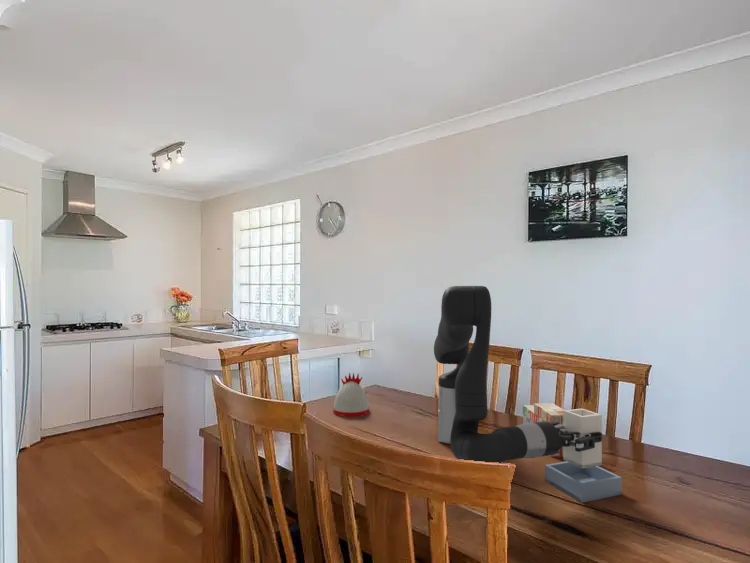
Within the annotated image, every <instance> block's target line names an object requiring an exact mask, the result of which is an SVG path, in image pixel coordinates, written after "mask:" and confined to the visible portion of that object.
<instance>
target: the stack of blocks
mask: <svg viewBox="0 0 750 563" xmlns="http://www.w3.org/2000/svg"><path fill="white" fill-rule="evenodd" d="M564 410H565V409H564V408H561V407H560V406H558V405H557V404H555V403H553V402H550V403H549V402H546V403H545V402H544V403H543V402H542V403H536V402H535V403H533V404H524V405H522V415H523V416H522V418H523V419H522V424H526V423H535V422H543V421H547V422H550V423H551V422H559V423H560V424H563V411H564ZM548 456H549V457H550V458H563V447H561V448H560V449H559V451H558V452H557V453H556V454H554V455H548Z"/></svg>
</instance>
